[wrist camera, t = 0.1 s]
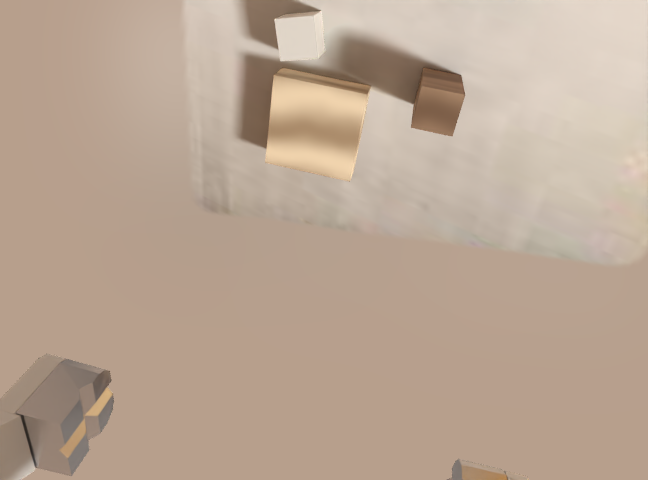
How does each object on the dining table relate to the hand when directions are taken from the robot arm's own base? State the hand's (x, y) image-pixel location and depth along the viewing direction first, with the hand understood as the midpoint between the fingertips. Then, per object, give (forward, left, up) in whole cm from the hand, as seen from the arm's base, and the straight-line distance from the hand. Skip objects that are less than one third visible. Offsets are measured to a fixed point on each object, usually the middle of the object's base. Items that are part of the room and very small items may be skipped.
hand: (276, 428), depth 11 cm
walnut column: (+3, +5, -48) cm, 48 cm away
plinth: (+9, -7, -48) cm, 50 cm away
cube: (0, -10, -48) cm, 49 cm away
